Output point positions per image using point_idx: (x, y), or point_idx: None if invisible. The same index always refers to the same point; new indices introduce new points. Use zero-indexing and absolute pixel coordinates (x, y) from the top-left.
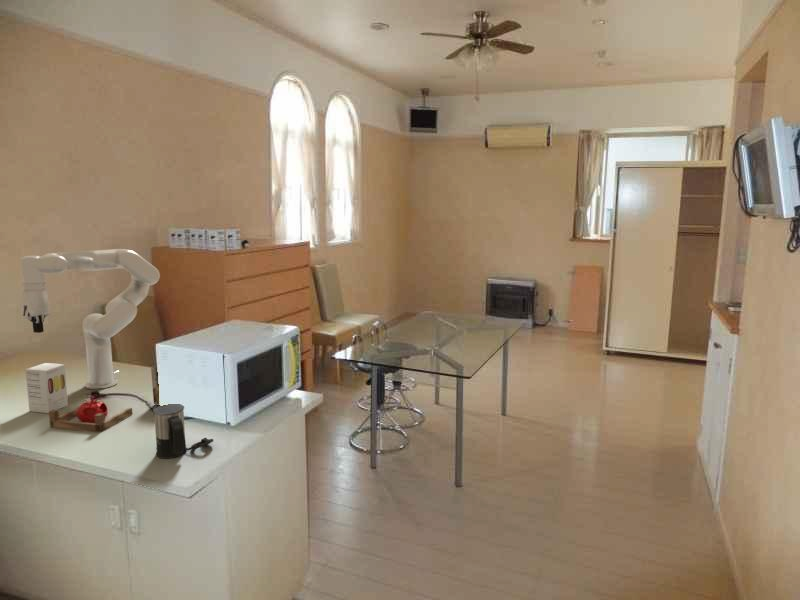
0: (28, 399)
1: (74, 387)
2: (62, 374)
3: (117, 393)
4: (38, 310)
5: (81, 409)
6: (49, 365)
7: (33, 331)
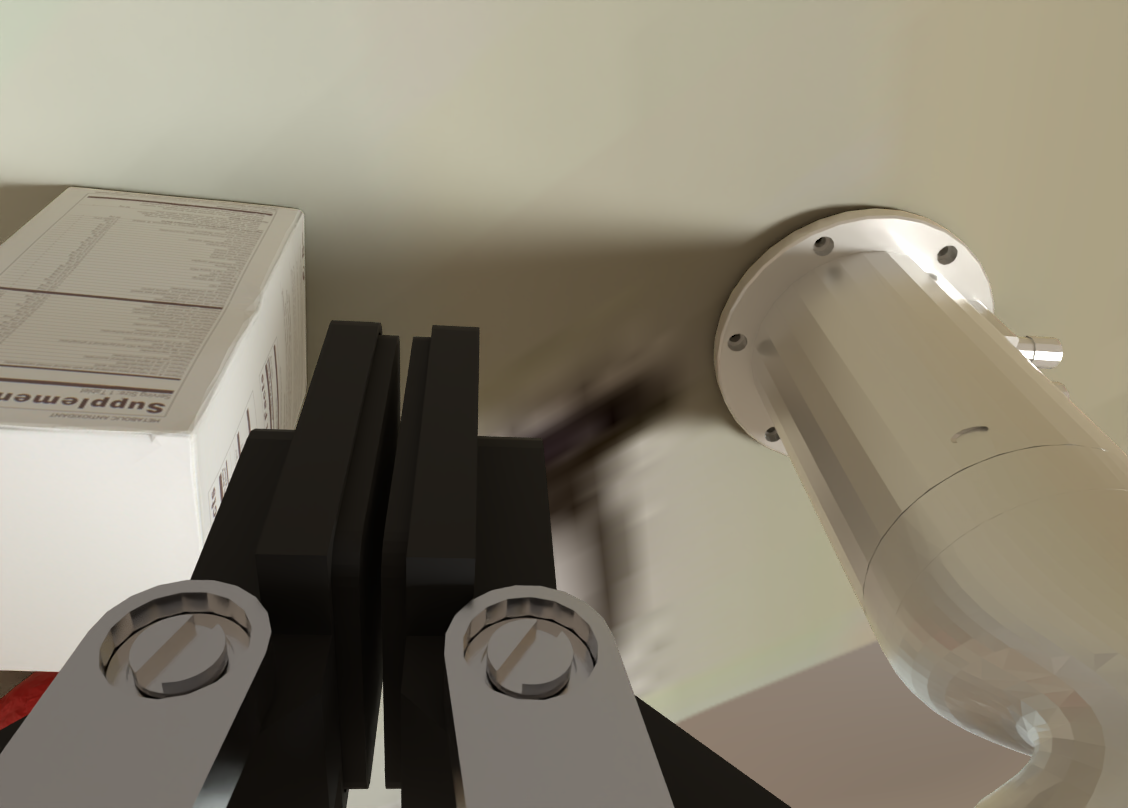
0: (17, 233)
1: (770, 138)
2: None
3: (623, 562)
4: None
5: None
6: (89, 580)
7: (329, 326)
